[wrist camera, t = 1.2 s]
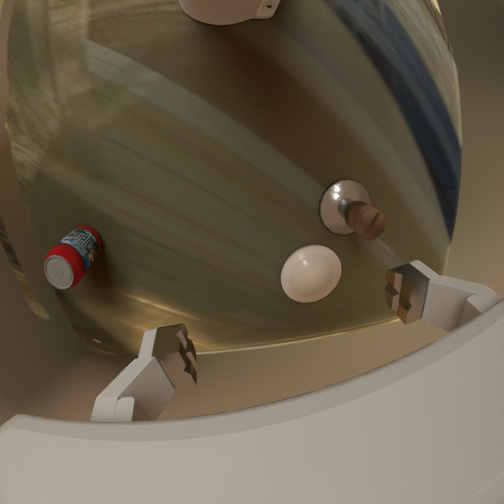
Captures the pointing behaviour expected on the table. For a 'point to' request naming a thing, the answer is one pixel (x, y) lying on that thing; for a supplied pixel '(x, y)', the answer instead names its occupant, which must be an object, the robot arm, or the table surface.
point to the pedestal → (340, 204)
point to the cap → (365, 219)
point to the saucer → (310, 273)
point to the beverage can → (72, 257)
